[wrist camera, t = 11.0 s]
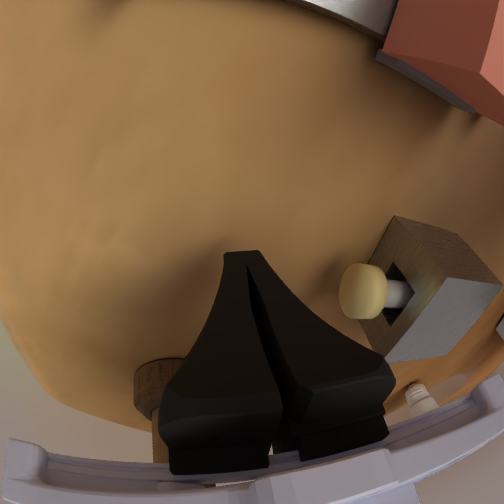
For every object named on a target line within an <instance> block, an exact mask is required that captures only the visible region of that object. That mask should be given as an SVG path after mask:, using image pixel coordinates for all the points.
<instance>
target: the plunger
mask: <svg viewBox="0 0 504 504" xmlns="http://www.w3.org/2000/svg"><path fill="white" fill-rule="evenodd" d="M414 294H415V291H414V290H413V288H412V287H411V285H410V284H409V283H408V282H405V281H396V280H388V279H386V277H385V274H384V272H383V271H382V270H381V269H380V268H379V267H378V266H375V265H368V264H361V263H354V264H352V265H350V266H349V267H348V268H347V269H346V270H345V272H344V274H343V276H342V278H341V282H340V286H339V302H340V307H341V309H342V311H343V313H344V314H345V315H346V316H347V317H348V318H351V319H372V318H375V317H376V316H377V315H379V313H380V312H381V311H382V309H383V307H388V308H405V307H406V305H407V304H408V302H409V301H410V300H411V298H412V297H413V295H414Z"/></svg>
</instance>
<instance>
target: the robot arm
mask: <svg viewBox="0 0 504 504" xmlns="http://www.w3.org/2000/svg"><path fill="white" fill-rule="evenodd" d="M395 385H396V379H395V377H394V375H393V373H392V370H391V368H390V366H389V365H388V363H387V362H386V360H385V358H384V357H383V355H381V354H379V353H377V352H375V351H373V350H370V349H368V348H366V347H364V346H362V345H360V344H358V343H357V342H355V341H353V340H352V339H350V338H348V337H347V336H345V335H343V334H342V333H340V332H339V331H337V330H336V329H334V328H333V327H332V326H330V325H329V324H327V323H326V322H325V321H323V320H322V319H321V318H320V317H318V316H317V315H316V314H315V313H313V312H312V311H311V310H310V309H309V308H308V307H307V306H306V305H304V304H303V303H302V302H301V301H300V300H299V299H298V298H297V297H296V296H295V295H294V294H293V293H292V291H291V290H290V289H289V288H288V287H287V286H286V285H285V284H284V282H283V281H282V280H281V279H280V278H279V277H278V275H277V274H276V273H275V272H274V270H273V269H272V268H271V266H270V265H269V264H268V262H267V261H266V260H265V258H264V257H263V255H262V254H261V252H260V251H258V250H252V251H237V252H226V253H225V254H224V267H223V273H222V278H221V281H220V285H219V289H218V292H217V295H216V298H215V301H214V304H213V307H212V309H211V312H210V314H209V316H208V319H207V321H206V323H205V325H204V327H203V329H202V331H201V333H200V335H199V337H198V339H197V341H196V342H195V344H194V346H193V347H192V349H191V350H190V352H189V354H188V355H187V357H186V358H185V360H184V361H183V363H182V364H181V366H180V367H179V368H178V370H177V371H176V372H175V374H174V375H173V376H172V377H171V379H170V380H169V381H168V383H167V384H166V386H165V389H164V392H163V395H162V398H161V402H160V406H159V412H158V433H159V436H160V437H161V439H162V440H163V442H164V443H165V444H166V446H167V447H168V453H169V463H137V462H119V461H107V460H96V459H87V458H80V457H72V456H66V455H60V454H53V453H48V452H47V451H46V450H45V449H43V448H42V447H40V446H38V445H36V444H34V443H30V442H26V441H21V440H17V439H13V438H9V439H8V442H7V448H6V456H5V463H4V472H3V482H2V494H1V496H2V498H3V499H4V500H7V501H9V502H11V503H14V504H420V501H419V498H418V495H417V492H416V489H415V487H414V483H417V482H419V481H421V480H423V479H425V478H427V477H429V476H431V475H433V474H435V473H437V472H439V471H441V470H443V469H445V468H447V467H448V466H450V465H452V464H454V463H456V462H457V461H459V460H461V459H463V458H464V457H466V456H468V455H469V454H471V453H473V452H474V451H476V450H477V449H479V448H481V447H482V446H484V445H485V444H487V443H488V442H490V441H491V440H493V439H494V438H496V437H497V436H498V435H499V434H501V433H502V432H504V382H503V380H502V378H501V377H500V375H499V374H498V373H497V374H495V375H493V376H491V377H489V378H487V379H485V380H483V381H482V382H480V383H479V384H478V385H477V386H476V387H475V388H474V389H473V390H472V391H471V393H469V394H467V395H465V396H463V397H461V398H459V399H457V400H454V401H452V402H450V403H448V404H445V405H443V406H441V407H439V408H436V409H434V410H431V411H429V412H426V413H424V414H421V415H419V416H416V417H414V418H411V419H408V420H406V421H403V422H400V423H397V424H395V425H392V426H389V427H387V425H386V422H385V420H384V417H383V415H384V414H385V409H384V406H383V404H382V403H383V402H384V401H385V400H386V398H387V397H388V396H389V395H390V393H391V392H392V390H393V389H394V387H395ZM271 444H272V448H273V455H268V454H269V451H270V448H271ZM254 479H256V480H255V481H250V482H244V483H239V484H232V485H225V486H218V487H209V488H206V486H204V485H203V484H214V483H227V482H238V481H247V480H254Z"/></svg>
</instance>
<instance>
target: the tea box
mask: <svg viewBox="0 0 504 504" xmlns="http://www.w3.org/2000/svg"><path fill="white" fill-rule="evenodd" d="M496 331H497V332H498V334H499V335H500V336H501V338H502V339H503V341H504V317H503V319H502V320H501V322H500V323H499V325H498V326H497V328H496Z"/></svg>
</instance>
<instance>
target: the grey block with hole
mask: <svg viewBox="0 0 504 504" xmlns="http://www.w3.org/2000/svg"><path fill="white" fill-rule="evenodd" d="M368 265H375V266H378V267H379V268H380V269H381V270H382V271H383V272H384V274H385V277H386V279H388V280H396V281H405V282H408V283H409V284H410V285H411V287H412V288H413V290H414V291H415V294H414V295H413V297H412V298H411V300H410V301H409V302H408V304H407V305H406V307H405V308H388V307H383V309H382V311H381V312H380V313H379V315H377V316H376V317H375V318H372V319H358V320H359V322H360V324H361V326H362V328H363V330H364V332H365V334H366V336H367V338H368V341H369V343H370V345H371V347H372V349H373V351H375V352H377V353H379V354H381V355H383V357H384V358H385V360H386V362H387V363H392V362H402V361H410V360H418V359H426V358H433V357H440V356H446V355H447V354H448V353H449V352H450V350H451V349H452V348H453V347H454V346H455V345H456V344H457V343H458V342H459V340H460V339H461V338H462V337H463V336H464V335H465V334H466V332H467V331H468V330H469V329H470V328H471V327H472V325H473V324H474V323H475V322H476V321H477V319H478V318H479V317H480V316H481V314H482V313H483V312H484V311H485V309H486V308H487V307H488V305H489V304H490V303H491V301H492V300H493V299H494V297H495V296H496V295H497V293H498V292H499V291H500V289H501V288H502V287H503V284H502V283H501V282H500V281H499V279H498V278H497V277H496V276H495V275H494V274H493V272H492V271H491V270H490V269H489V268H488V267H487V266H486V264H485V263H484V262H483V261H482V260H481V259H480V258H479V257H478V256H477V254H476V253H475V252H474V251H473V250H472V249H471V248H470V247H469V246H468V245H467V244H466V243H465V242H464V241H463V240H462V239H461V238H460V237H459V236H458V234H455V233H452V232H449V231H445V230H442V229H439V228H436V227H432V226H429V225H426V224H422V223H419V222H415V221H412V220H409V219H405V218H402V217H398V216H394V217H393V219H392V221H391V223H390V225H389V227H388V229H387V230H386V232H385V234H384V236H383V238H382V240H381V241H380V243H379V245H378V247H377V249H376V251H375V252H374V254H373V256H372V258H371V259H370V261H369V263H368Z"/></svg>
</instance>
